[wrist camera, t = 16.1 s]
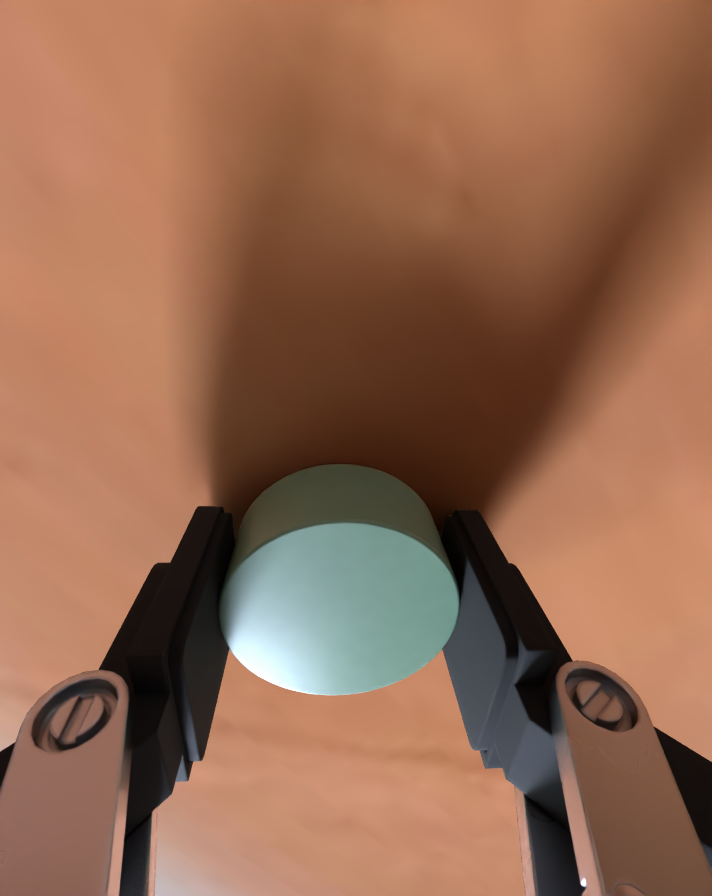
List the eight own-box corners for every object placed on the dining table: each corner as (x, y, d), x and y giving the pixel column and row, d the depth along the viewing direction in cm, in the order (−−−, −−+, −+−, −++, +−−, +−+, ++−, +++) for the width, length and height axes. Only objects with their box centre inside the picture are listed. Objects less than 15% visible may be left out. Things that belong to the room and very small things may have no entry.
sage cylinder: (475, 521, 11) (510, 586, 9) (364, 642, 12) (372, 719, 10) (302, 423, 9) (296, 474, 7) (203, 577, 11) (176, 652, 9)
